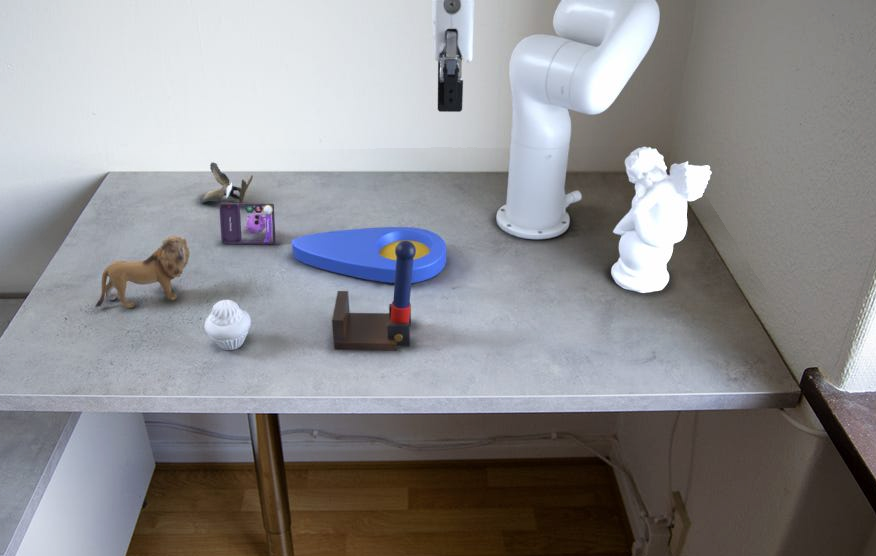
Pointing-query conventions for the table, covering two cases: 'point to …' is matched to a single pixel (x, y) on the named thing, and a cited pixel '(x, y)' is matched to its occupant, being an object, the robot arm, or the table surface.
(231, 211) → the purple toy package
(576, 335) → the table surface
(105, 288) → the lion figurine
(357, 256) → the location marker
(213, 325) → the muffin
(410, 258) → the blue lever handle
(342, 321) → the brown lever base
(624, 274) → the cherub figurine
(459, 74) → the robot arm
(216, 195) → the eagle figurine
